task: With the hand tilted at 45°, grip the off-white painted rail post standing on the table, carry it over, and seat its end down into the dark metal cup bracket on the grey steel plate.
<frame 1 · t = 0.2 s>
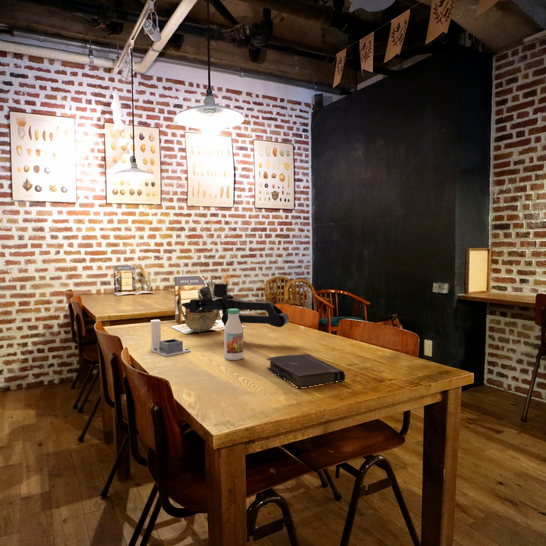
hand: (187, 303, 215), 17 cm above the table, tool horizontal, fingers open, 9 cm apart
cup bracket: (171, 351, 184), on the table
ceramic bowl: (200, 331, 228), on the table
rail post: (156, 348, 191), on the table
diary: (303, 377, 151), on the table
milk bottle: (233, 358, 174), on the table
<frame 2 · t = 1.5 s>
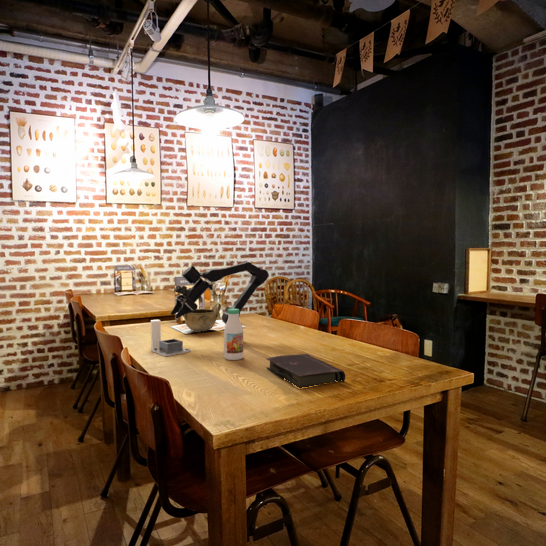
hand: (173, 316, 194), 14 cm above the table, tool tilted 45°, fingers open, 9 cm apart
nothing on the table moved.
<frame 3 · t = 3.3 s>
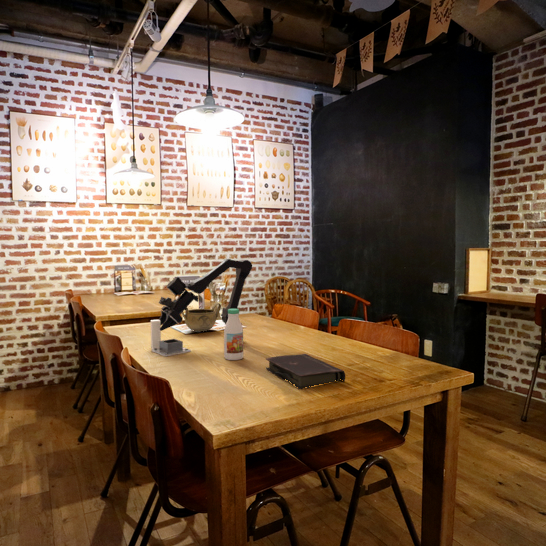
hand: (158, 328, 191), 9 cm above the table, tool tilted 45°, fingers open, 9 cm apart
nothing on the table moved.
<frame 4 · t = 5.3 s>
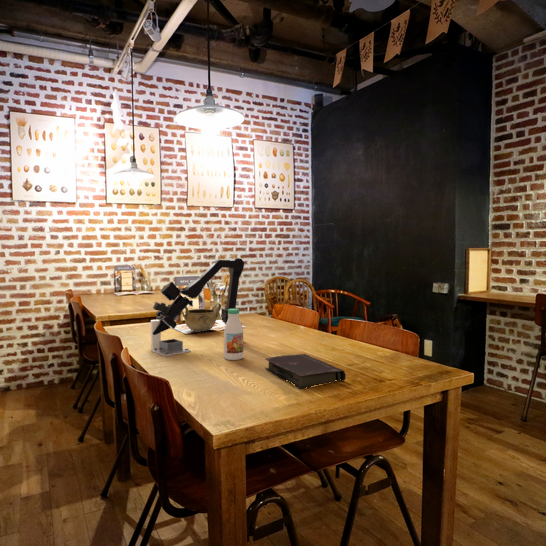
hand: (152, 333, 190), 7 cm above the table, tool tilted 45°, fingers closed on rail post, 4 cm apart
rail post: (156, 348, 191), on the table, touching gripper
everything else where it was.
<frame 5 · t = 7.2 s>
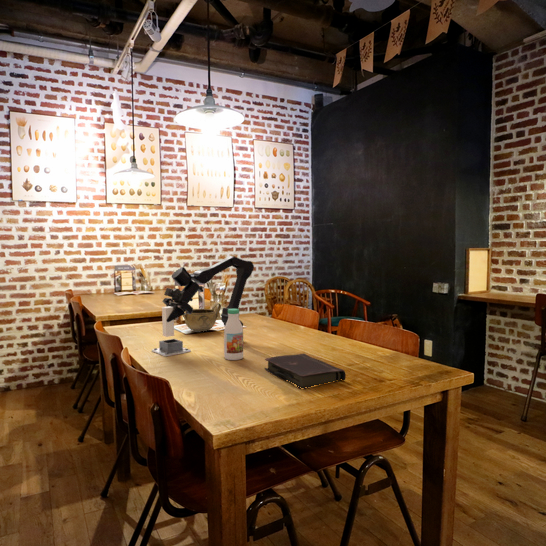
hand: (165, 320, 184), 13 cm above the table, tool tilted 45°, fingers closed on rail post, 4 cm apart
rail post: (168, 335, 185), point 7 cm above the table, touching gripper
everything else where it was.
when the fingers open (9 cm above the table, at t = 9.6 s): rail post drops 1 cm, resting on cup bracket.
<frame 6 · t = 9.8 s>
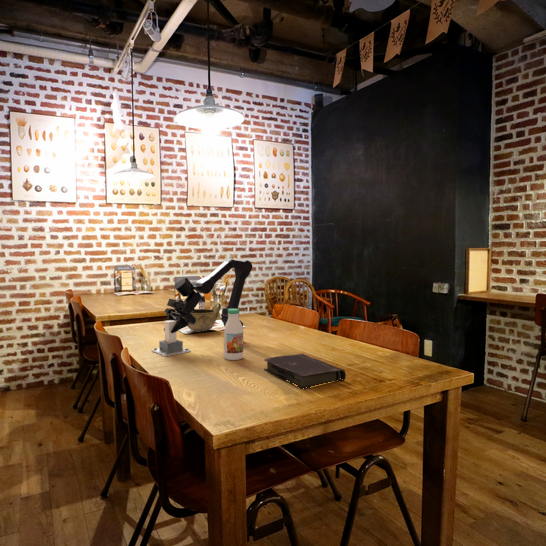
hand: (167, 331, 183), 9 cm above the table, tool tilted 45°, fingers open, 6 cm apart
rail post: (170, 349, 184), point 1 cm above the table, touching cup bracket
everything else where it was.
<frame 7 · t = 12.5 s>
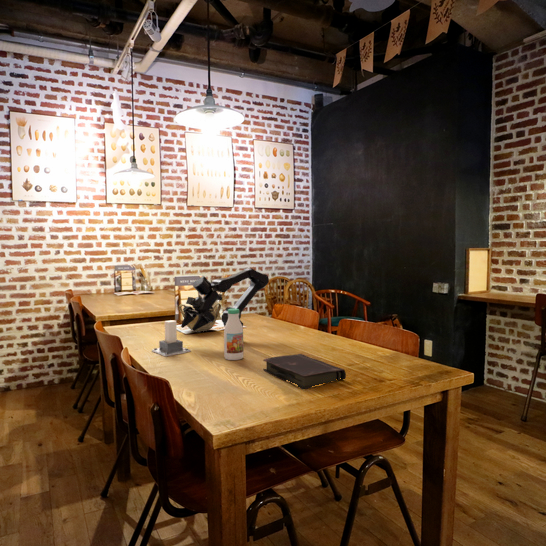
hand: (187, 328, 189), 9 cm above the table, tool tilted 45°, fingers open, 9 cm apart
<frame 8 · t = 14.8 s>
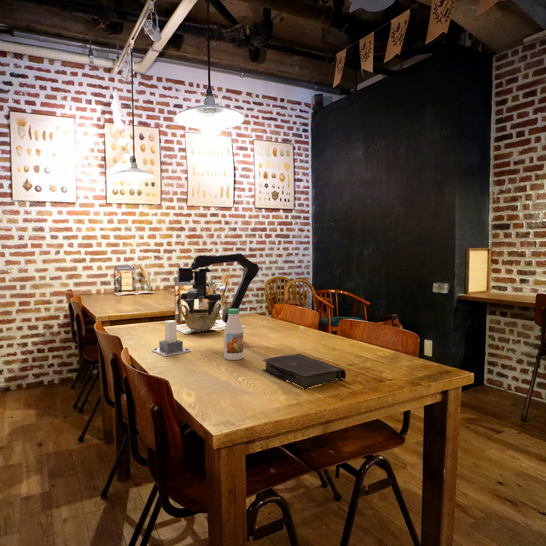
hand: (200, 315, 201), 13 cm above the table, tool pointing down, fingers open, 9 cm apart
at the end: rail post 0.1 cm off-centre on the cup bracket, point 0.8 cm above the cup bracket's base; rail post tilted 0°; the gripper is holding nothing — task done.
